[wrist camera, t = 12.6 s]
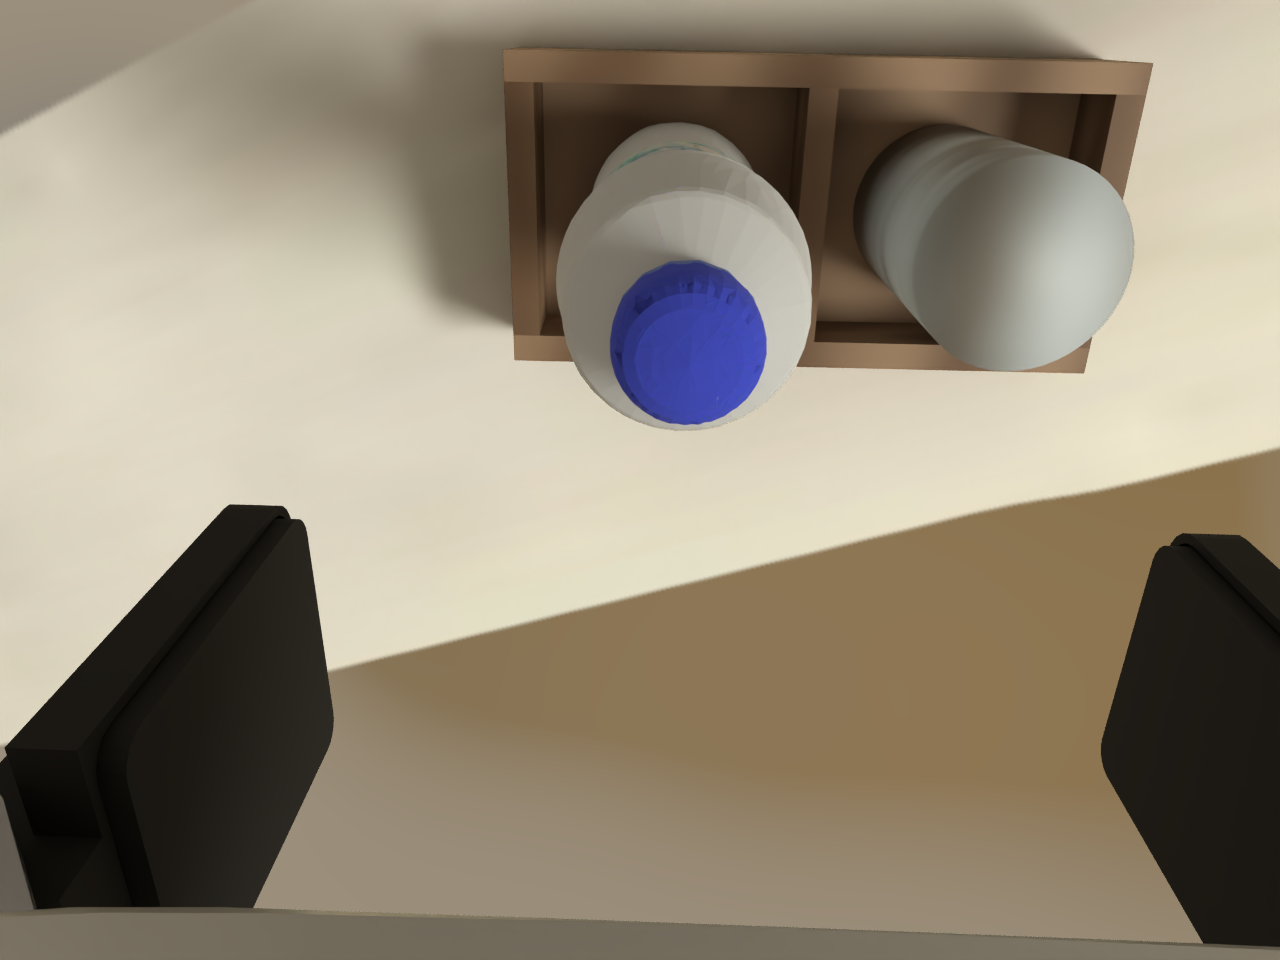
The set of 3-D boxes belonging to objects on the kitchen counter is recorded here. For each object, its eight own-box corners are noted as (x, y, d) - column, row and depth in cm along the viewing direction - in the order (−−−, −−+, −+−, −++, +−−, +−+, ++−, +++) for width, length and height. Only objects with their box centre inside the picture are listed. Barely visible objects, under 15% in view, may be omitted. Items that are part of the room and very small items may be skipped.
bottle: (713, 314, 40) (760, 554, 22) (562, 244, 39) (478, 435, 20) (791, 158, 37) (921, 282, 19) (632, 79, 36) (607, 129, 18)
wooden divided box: (1103, 59, 36) (1272, 71, 26) (1046, 342, 41) (1171, 443, 31) (518, 47, 37) (465, 55, 27) (527, 330, 41) (485, 427, 31)
